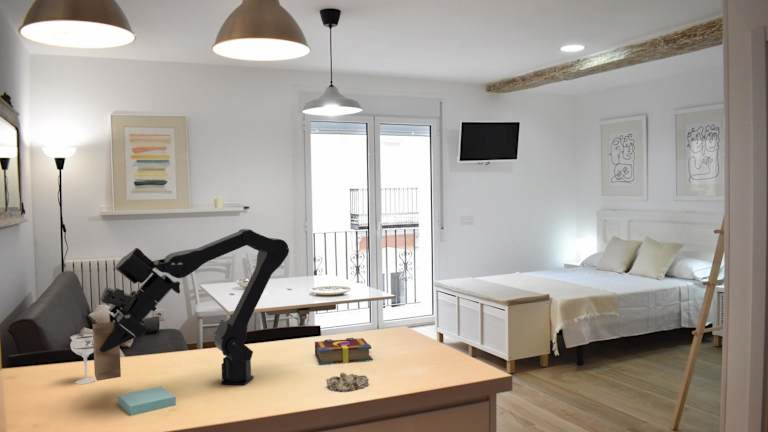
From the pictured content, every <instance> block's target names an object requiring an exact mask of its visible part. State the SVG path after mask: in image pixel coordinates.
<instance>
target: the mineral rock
mask: <svg viewBox="0 0 768 432" xmlns="http://www.w3.org/2000/svg"><path fill="white" fill-rule="evenodd" d="M325 382H326V385H327V388H329V389H330V391H333V392H341V393H345V392H352V391H357V390H361V389H364V388H365V387H367V386H369V378H368V377H367V376H366V375H357V374H353V373H351V374H347V373H345V372H340V373H339V376H335V375H334V376H331V377H330V378H326V379H325Z"/></svg>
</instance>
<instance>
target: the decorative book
mask: <svg viewBox="0 0 768 432" xmlns="http://www.w3.org/2000/svg"><path fill="white" fill-rule="evenodd" d="M370 350H372V346H371V344H370V343H368V342H367V341H366V340H365V339H364V338H363V337H361V338H354V337H349V338H348V337H347V338H346V339H336V340H334V339H324V340H320V341H319V340H318V341H315V342H314V355H315V356H316V359H317V362H318V365H319V366H325V365H334V364H337V363H341V364H349V363H350V362H351V363H352V362H358V361H362V362H367V361H366V360H371V361H372V357H371V355H370V353H371V351H370ZM348 362H349V363H348Z"/></svg>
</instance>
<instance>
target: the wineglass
mask: <svg viewBox="0 0 768 432" xmlns="http://www.w3.org/2000/svg"><path fill="white" fill-rule="evenodd" d="M70 339H71V342H70V345H69V347H70V349H71V351H72V352H73V353H75V354H76V355H78V356H81V357H82V358H83V365H84V366H83V367H84V378H82V379H78V380H76V381H75V384H77V385H86V384H92V383H94V382H93V381H95V380H96V377H95V378H94V377H88V357H90V355H92V354H94V346H93V332H83V333H77V334H73V335H70ZM96 381H97V380H96ZM96 381H95V382H96ZM91 382H92V383H91Z"/></svg>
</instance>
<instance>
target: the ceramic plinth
mask: <svg viewBox="0 0 768 432" xmlns="http://www.w3.org/2000/svg"><path fill="white" fill-rule="evenodd" d="M176 399H177V397H176V395H174V394H173V393H172V392H170V391H168V390H167V389H165V388H164V387H163V386H162V385H160V386H155V387H152V388H147V389H142V390H136V391H132V392H126V393H121V394H118V395H117V405H119V407H121V408H122V409H123V410H124V411H125V412H126V413H127V414H128V415H129V416H131V417H132V416H136V415H139V414H144V413H149V412H153V411H157V410H162V409H166V408H170V407H174V406H177V402H176V401H177V400H176Z"/></svg>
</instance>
